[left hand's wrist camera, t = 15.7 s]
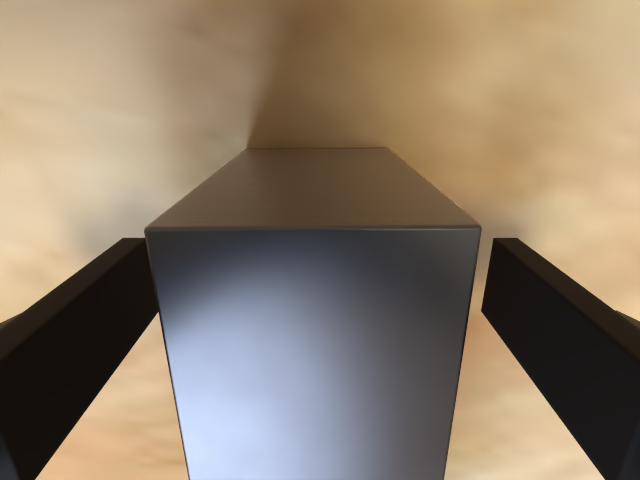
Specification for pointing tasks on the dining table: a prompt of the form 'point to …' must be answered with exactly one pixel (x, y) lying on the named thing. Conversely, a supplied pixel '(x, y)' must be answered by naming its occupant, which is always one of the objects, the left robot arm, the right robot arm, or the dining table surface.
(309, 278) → the bar
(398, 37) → the dining table surface
